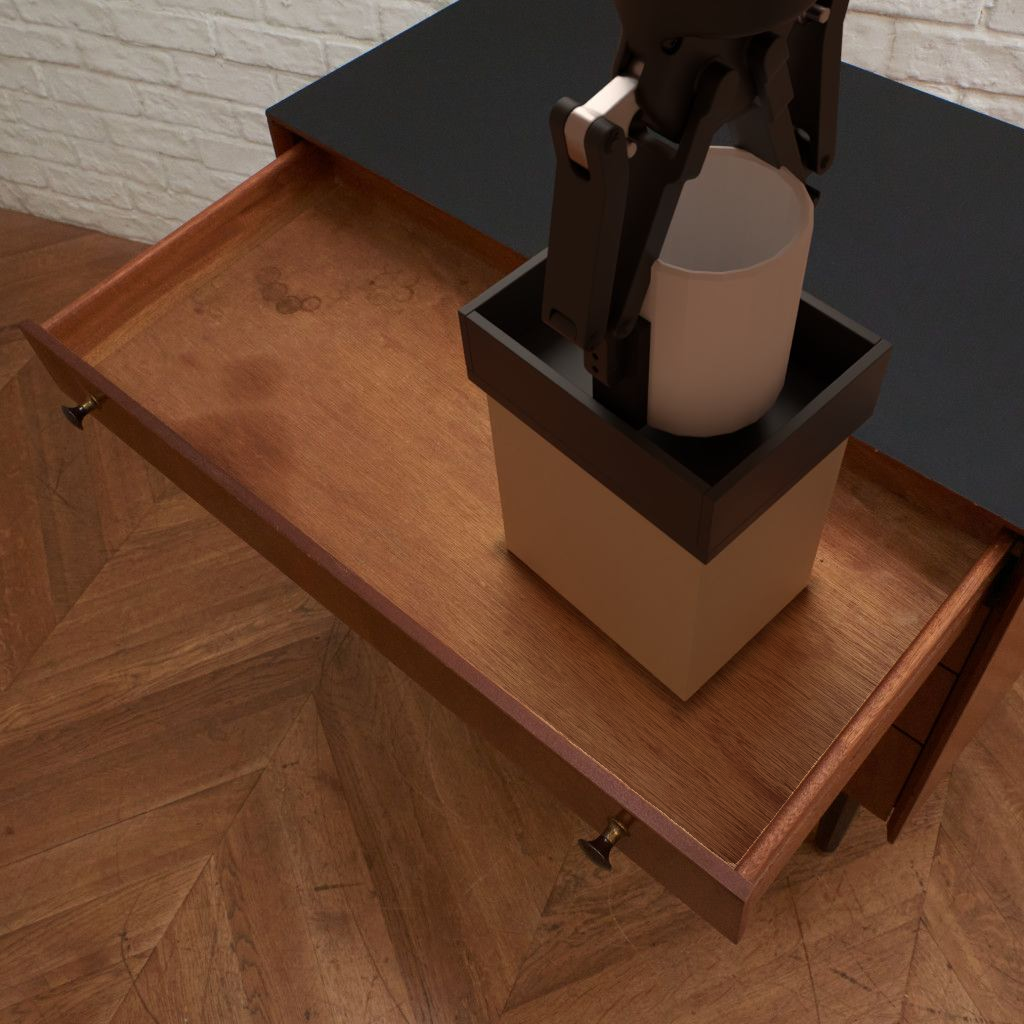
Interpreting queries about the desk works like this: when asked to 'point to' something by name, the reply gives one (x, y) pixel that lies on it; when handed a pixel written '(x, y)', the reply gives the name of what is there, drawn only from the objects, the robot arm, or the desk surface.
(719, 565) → the stand
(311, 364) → the desk surface
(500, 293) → the basket
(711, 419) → the mug
